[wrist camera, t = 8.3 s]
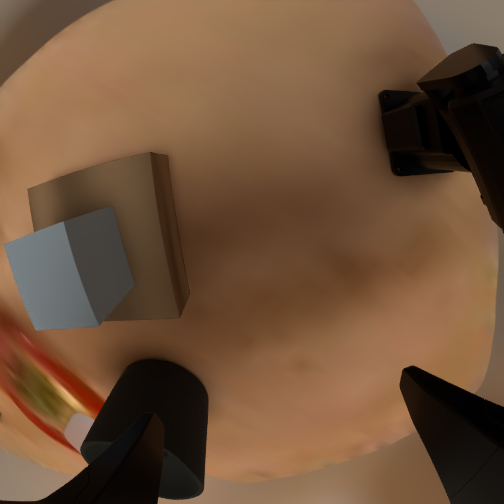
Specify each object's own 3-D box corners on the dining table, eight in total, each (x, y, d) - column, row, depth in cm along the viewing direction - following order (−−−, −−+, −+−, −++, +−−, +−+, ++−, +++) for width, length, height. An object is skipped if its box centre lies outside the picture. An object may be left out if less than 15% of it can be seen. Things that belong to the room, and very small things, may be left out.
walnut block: (169, 155, 17) (150, 152, 14) (190, 291, 20) (179, 317, 16) (58, 184, 18) (27, 189, 14) (84, 299, 20) (60, 320, 16)
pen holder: (187, 345, 21) (161, 443, 12) (227, 414, 24) (223, 499, 14) (102, 360, 22) (57, 435, 12) (148, 423, 24) (127, 494, 15)
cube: (135, 285, 16) (99, 326, 11) (76, 294, 16) (35, 330, 11) (112, 205, 14) (63, 221, 10) (54, 224, 14) (4, 244, 10)
